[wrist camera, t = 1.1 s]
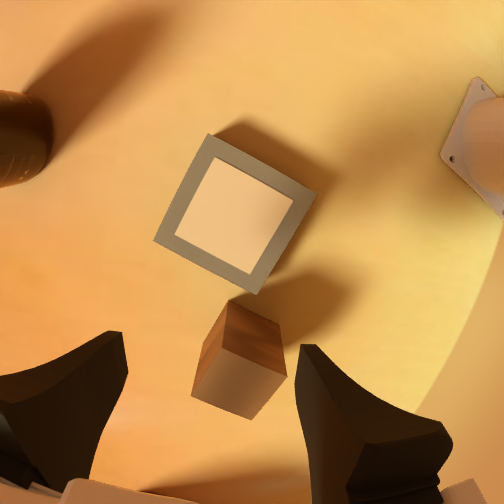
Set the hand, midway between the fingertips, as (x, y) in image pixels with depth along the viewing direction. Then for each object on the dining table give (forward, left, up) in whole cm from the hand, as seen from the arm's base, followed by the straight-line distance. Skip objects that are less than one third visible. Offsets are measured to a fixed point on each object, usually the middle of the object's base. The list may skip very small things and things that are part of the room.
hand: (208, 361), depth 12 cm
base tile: (+1, -4, -10) cm, 10 cm away
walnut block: (-3, +3, -10) cm, 11 cm away
